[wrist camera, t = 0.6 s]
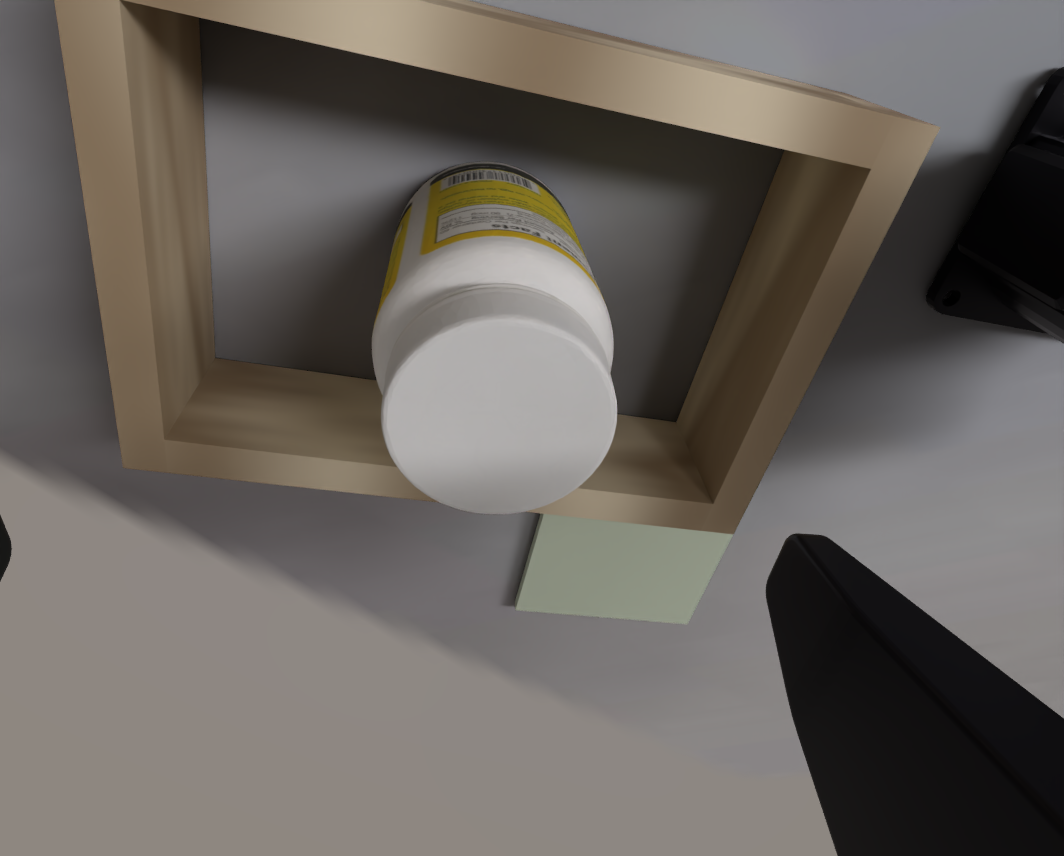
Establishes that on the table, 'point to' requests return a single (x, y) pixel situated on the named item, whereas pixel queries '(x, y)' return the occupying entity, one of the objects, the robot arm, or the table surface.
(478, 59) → the wooden box
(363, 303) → the table surface
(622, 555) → the sage mat
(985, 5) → the table surface
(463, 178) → the supplement bottle
